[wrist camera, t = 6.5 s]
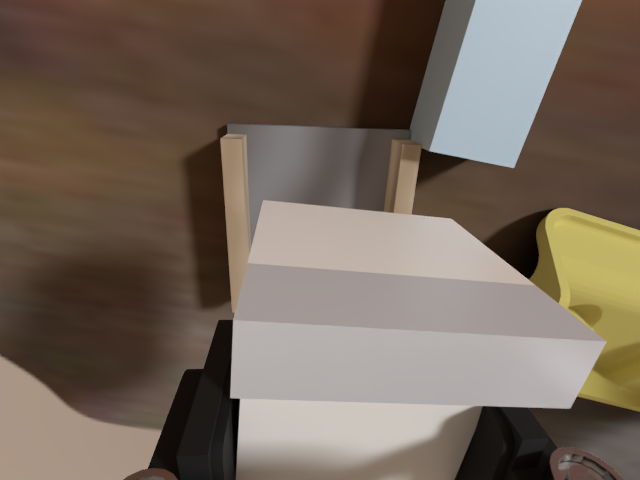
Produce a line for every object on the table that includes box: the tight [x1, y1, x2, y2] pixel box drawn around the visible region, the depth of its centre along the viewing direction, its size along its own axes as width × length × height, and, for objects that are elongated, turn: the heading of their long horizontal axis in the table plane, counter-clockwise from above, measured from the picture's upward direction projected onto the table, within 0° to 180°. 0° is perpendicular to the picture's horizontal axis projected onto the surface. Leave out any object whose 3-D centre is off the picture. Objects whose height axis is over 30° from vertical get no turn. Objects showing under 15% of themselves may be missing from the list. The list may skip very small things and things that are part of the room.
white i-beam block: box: [230, 200, 607, 480], centre depth 8 cm, size 5×9×5 cm, turn 173°
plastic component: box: [529, 208, 640, 412], centre depth 24 cm, size 20×7×10 cm
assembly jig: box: [220, 123, 422, 312], centre depth 20 cm, size 10×11×3 cm
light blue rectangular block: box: [409, 0, 582, 168], centre depth 17 cm, size 4×11×4 cm, turn 169°
